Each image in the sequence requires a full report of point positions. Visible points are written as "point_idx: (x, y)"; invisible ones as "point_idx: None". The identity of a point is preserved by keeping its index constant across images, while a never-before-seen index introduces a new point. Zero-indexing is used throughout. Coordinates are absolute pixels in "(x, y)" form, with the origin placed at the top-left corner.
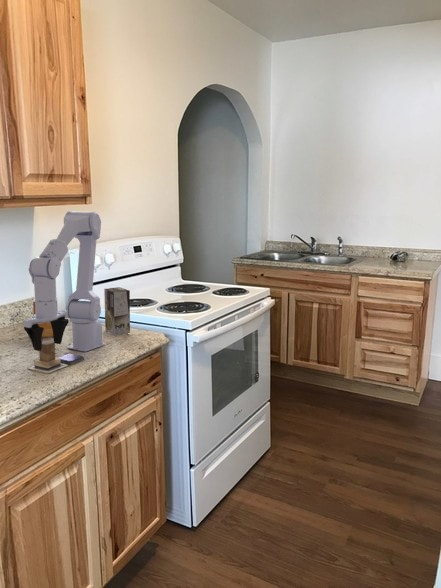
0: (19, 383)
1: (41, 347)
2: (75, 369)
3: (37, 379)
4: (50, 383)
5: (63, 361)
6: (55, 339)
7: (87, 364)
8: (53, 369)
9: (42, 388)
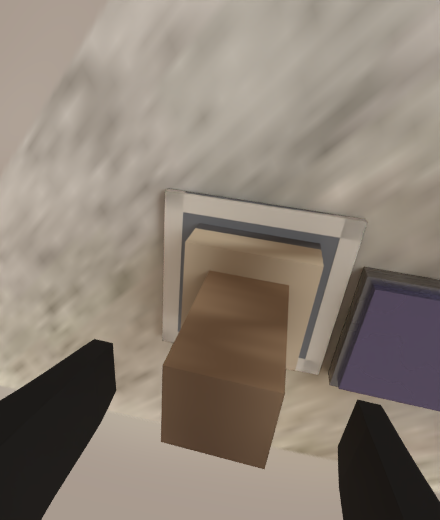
0: (10, 287)
1: (102, 418)
2: None
3: (87, 328)
4: None
5: (345, 341)
6: (360, 453)
7: None
8: None
9: None
